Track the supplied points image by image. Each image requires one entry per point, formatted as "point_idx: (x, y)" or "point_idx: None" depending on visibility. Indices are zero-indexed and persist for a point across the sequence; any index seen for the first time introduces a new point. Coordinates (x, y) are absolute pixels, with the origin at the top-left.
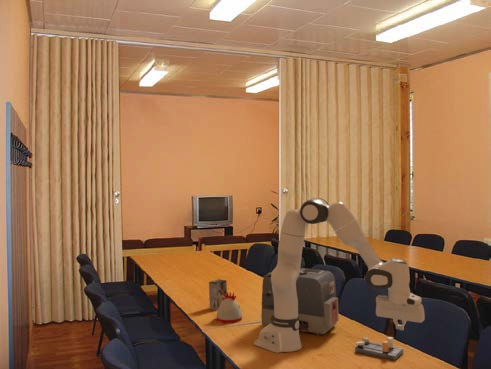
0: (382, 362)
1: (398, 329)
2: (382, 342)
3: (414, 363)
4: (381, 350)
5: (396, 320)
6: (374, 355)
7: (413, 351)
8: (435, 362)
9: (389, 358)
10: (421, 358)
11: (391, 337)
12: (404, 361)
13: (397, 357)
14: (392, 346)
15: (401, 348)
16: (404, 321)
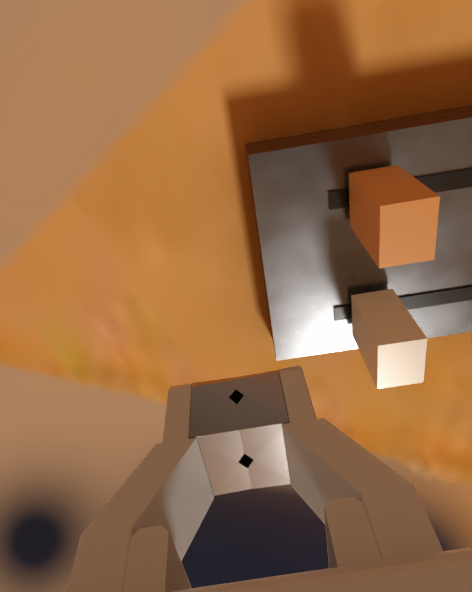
0: (321, 7)
1: (253, 374)
2: (435, 196)
3: (89, 207)
4: None
5: (328, 535)
6: (450, 110)
7: None
8: (2, 329)
9: (298, 136)
10: (117, 329)
11: (395, 381)
12: (174, 189)
13: (255, 214)
14: (353, 319)
15: (286, 348)
16: (82, 573)
